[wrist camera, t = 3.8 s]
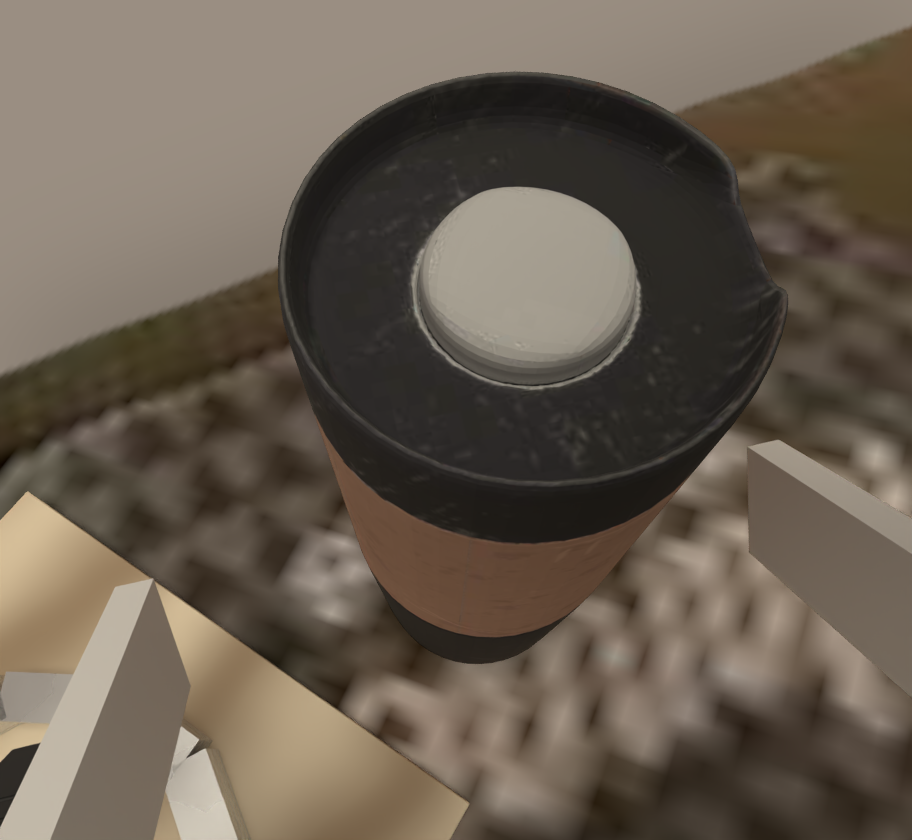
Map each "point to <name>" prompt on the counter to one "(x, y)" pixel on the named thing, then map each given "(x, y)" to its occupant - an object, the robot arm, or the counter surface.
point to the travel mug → (519, 339)
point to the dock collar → (192, 771)
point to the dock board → (214, 699)
